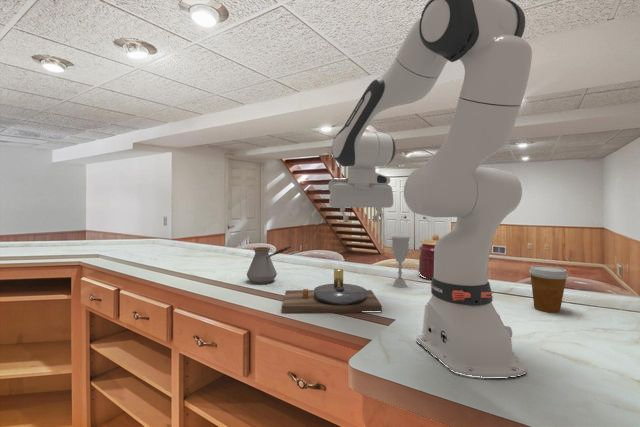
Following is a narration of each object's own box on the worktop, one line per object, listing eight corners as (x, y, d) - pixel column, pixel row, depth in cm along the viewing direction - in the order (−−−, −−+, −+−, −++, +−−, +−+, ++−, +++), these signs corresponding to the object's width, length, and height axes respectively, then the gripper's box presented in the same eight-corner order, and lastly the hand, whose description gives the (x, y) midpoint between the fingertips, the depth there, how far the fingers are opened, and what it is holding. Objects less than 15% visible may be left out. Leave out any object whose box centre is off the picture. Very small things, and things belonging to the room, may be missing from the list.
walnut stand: (381, 312, 94) (381, 297, 94) (281, 313, 94) (281, 297, 93) (371, 295, 110) (371, 282, 110) (286, 296, 110) (286, 283, 109)
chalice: (409, 288, 120) (410, 238, 119) (390, 287, 121) (391, 237, 120) (408, 283, 127) (409, 236, 126) (390, 282, 128) (391, 235, 127)
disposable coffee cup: (520, 306, 101) (521, 266, 100) (542, 302, 104) (543, 264, 103) (551, 316, 92) (553, 273, 91) (575, 312, 95) (576, 270, 95)
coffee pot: (240, 281, 129) (240, 242, 128) (263, 276, 138) (263, 240, 137) (279, 291, 115) (279, 248, 115) (301, 285, 124) (302, 244, 124)
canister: (412, 277, 137) (413, 234, 136) (427, 272, 146) (428, 232, 146) (443, 282, 128) (444, 236, 127) (457, 277, 137) (458, 234, 137)
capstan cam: (371, 304, 94) (371, 280, 94) (314, 305, 94) (314, 280, 93) (362, 289, 110) (362, 268, 110) (313, 289, 110) (313, 268, 109)
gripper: (329, 177, 103) (328, 222, 104) (395, 178, 103) (394, 222, 104) (328, 178, 109) (327, 220, 110) (390, 178, 110) (389, 220, 111)
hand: (360, 221), depth 107 cm, fingers open, 8 cm apart
